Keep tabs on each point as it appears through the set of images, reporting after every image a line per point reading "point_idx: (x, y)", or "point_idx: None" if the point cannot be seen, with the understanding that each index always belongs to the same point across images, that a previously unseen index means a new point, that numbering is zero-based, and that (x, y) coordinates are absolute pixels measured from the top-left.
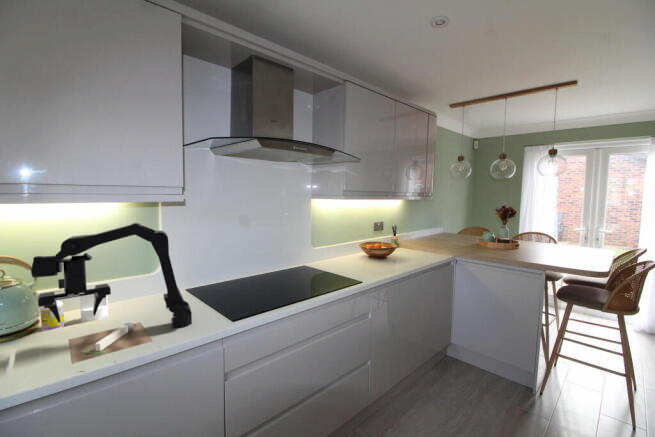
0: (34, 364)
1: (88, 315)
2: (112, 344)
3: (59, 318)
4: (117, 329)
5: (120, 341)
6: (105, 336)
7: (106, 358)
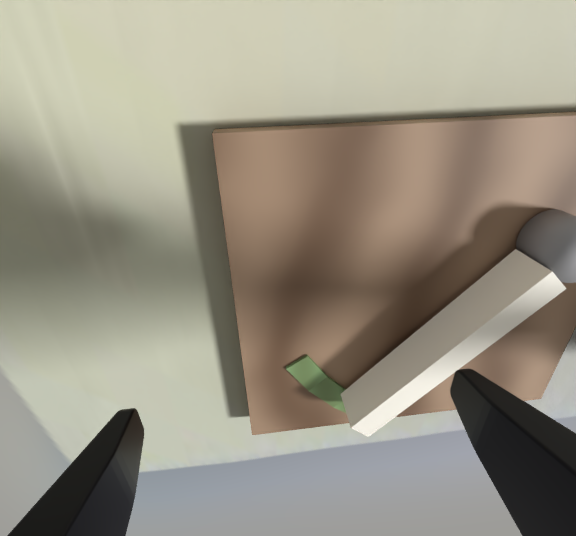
0: (87, 317)
1: None
2: None
3: (127, 507)
4: (495, 316)
5: None
6: (418, 236)
7: None
